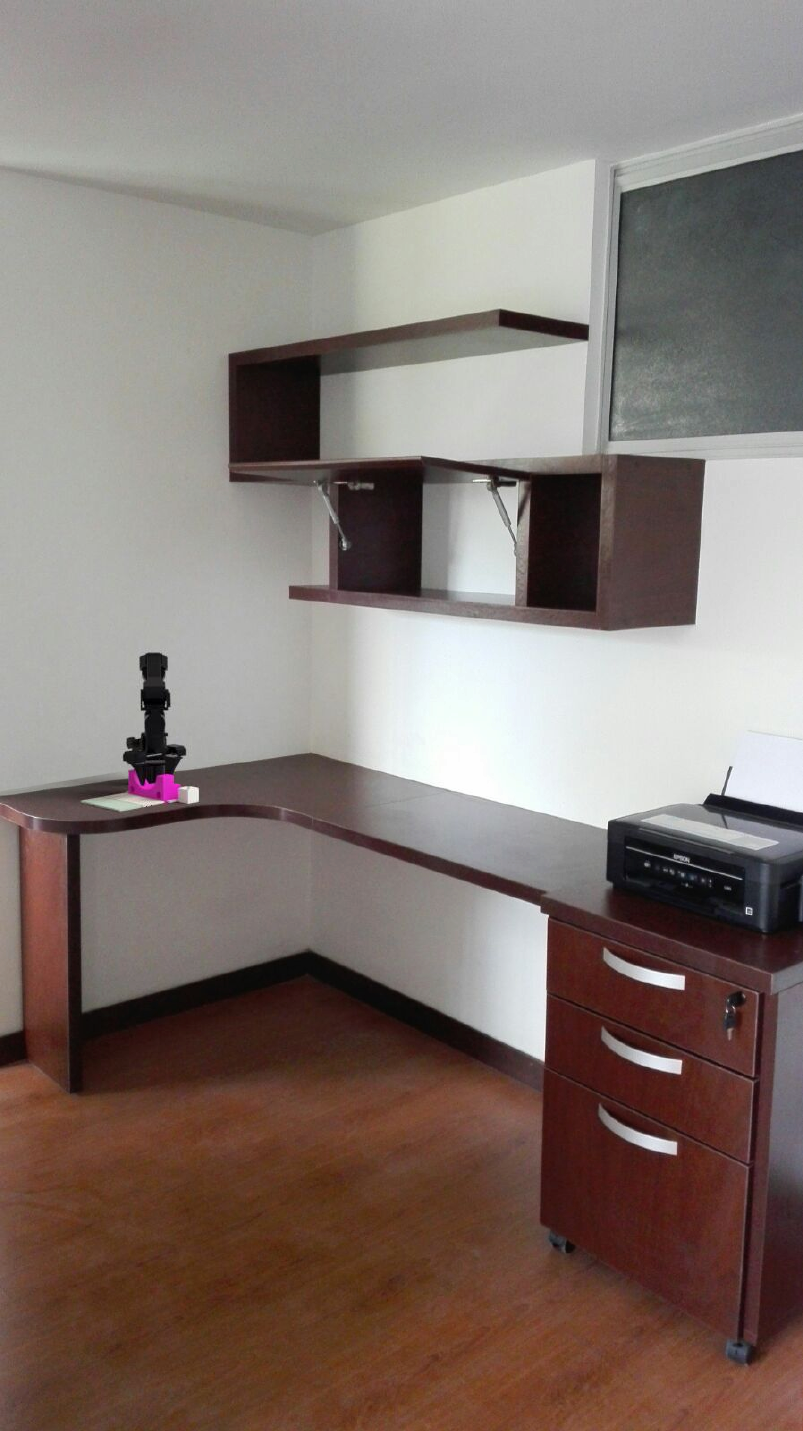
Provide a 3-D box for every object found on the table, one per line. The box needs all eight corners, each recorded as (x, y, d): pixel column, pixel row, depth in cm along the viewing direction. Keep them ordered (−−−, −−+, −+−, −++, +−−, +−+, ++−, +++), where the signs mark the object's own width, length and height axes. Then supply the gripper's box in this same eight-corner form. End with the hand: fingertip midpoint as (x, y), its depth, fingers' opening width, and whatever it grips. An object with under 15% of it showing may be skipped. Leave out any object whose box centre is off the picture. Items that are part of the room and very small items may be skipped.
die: (189, 799, 334) (188, 785, 333) (198, 802, 331) (198, 787, 331) (178, 802, 331) (178, 787, 330) (187, 804, 328) (187, 789, 328)
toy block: (180, 800, 334) (180, 774, 333) (163, 803, 329) (163, 777, 328) (145, 792, 343) (145, 767, 342) (128, 796, 338) (128, 770, 337)
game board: (142, 790, 345) (142, 788, 345) (186, 799, 334) (186, 797, 333) (78, 802, 328) (78, 800, 328) (122, 812, 316) (122, 810, 316)
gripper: (161, 722, 347) (162, 775, 349) (109, 729, 332) (110, 784, 334) (187, 726, 340) (187, 780, 342) (135, 734, 325) (136, 789, 327)
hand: (155, 783), depth 337 cm, fingers open, 9 cm apart
